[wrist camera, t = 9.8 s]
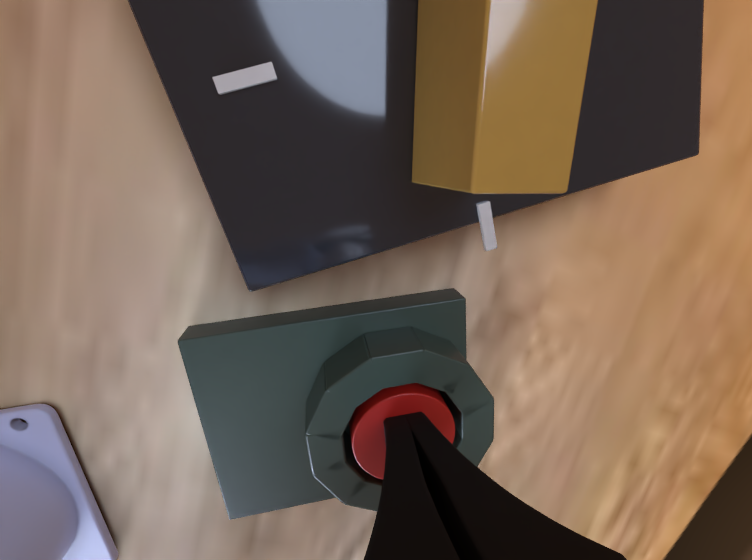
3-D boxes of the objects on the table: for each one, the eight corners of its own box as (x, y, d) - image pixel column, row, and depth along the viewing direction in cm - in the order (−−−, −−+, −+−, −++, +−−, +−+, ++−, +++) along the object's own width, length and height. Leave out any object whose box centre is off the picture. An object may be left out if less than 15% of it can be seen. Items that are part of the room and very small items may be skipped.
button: (352, 453, 14) (357, 491, 13) (342, 374, 13) (346, 404, 12) (440, 436, 15) (456, 470, 13) (437, 358, 14) (454, 384, 12)
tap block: (271, 286, 13) (259, 322, 10) (109, -126, 9) (14, -262, 6) (622, 179, 14) (704, 183, 11) (607, -236, 10) (726, -398, 7)
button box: (235, 495, 16) (217, 567, 13) (188, 325, 13) (153, 369, 10) (463, 448, 17) (493, 506, 14) (460, 286, 14) (495, 316, 12)
